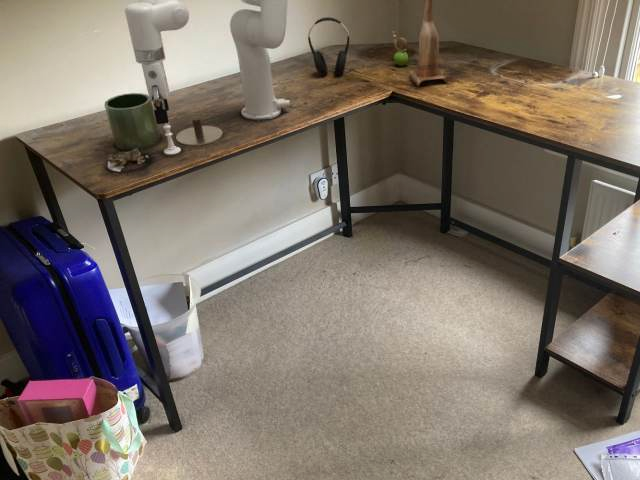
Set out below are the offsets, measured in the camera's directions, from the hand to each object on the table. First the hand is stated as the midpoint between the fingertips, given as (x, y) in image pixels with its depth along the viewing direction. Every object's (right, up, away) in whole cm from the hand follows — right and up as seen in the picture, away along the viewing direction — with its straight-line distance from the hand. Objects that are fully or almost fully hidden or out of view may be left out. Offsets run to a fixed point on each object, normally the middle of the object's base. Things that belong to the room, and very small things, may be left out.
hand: (163, 116), depth 180 cm
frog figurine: (-10, -13, +2) cm, 16 cm away
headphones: (+42, +31, +58) cm, 78 cm away
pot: (-12, -4, +13) cm, 18 cm away
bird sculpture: (+77, +27, +52) cm, 97 cm away
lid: (+6, -2, +14) cm, 16 cm away
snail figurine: (+68, +37, +65) cm, 101 cm away
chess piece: (0, -9, +7) cm, 11 cm away
